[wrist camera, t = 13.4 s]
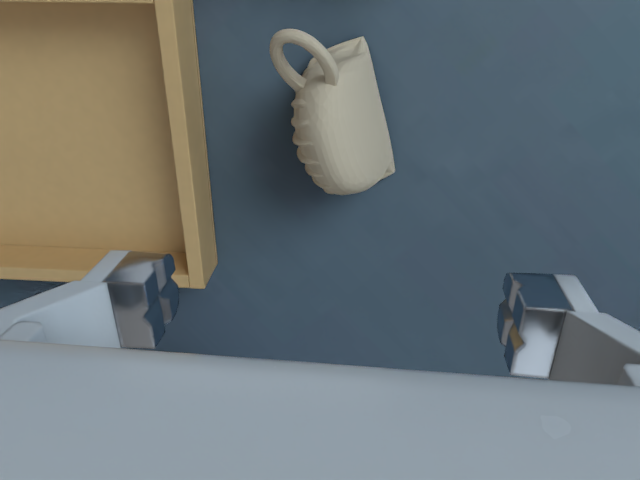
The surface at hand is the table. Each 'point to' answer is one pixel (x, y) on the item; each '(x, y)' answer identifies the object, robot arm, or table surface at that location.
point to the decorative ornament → (336, 113)
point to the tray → (102, 138)
